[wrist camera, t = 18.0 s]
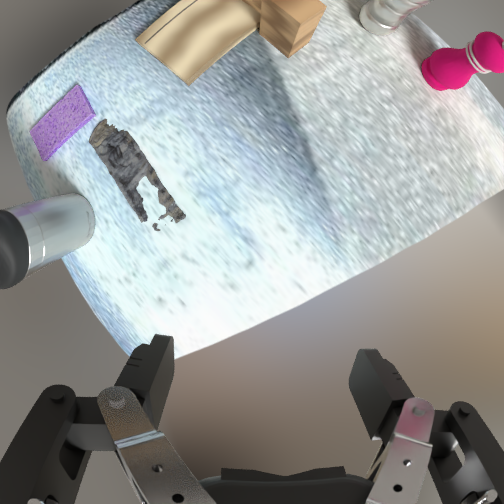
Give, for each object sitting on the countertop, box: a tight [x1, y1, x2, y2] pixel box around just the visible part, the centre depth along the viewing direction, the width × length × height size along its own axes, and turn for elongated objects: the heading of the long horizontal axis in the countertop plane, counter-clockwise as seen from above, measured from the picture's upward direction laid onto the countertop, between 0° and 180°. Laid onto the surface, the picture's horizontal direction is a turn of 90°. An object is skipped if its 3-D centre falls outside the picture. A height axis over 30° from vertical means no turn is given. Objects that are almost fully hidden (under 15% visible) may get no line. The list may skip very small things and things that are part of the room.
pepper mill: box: [422, 32, 504, 91], centre depth 27 cm, size 7×7×20 cm
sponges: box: [30, 85, 96, 161], centre depth 38 cm, size 7×13×2 cm, turn 120°
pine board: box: [135, 0, 261, 86], centre depth 33 cm, size 12×24×2 cm, turn 134°
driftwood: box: [89, 119, 186, 231], centre depth 41 cm, size 21×7×2 cm, turn 33°
